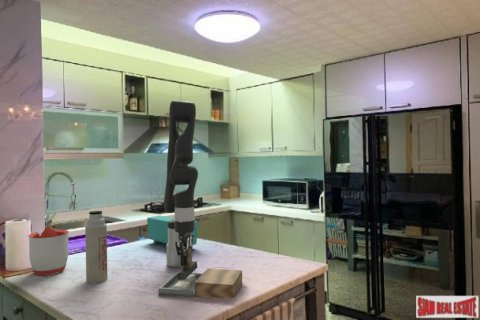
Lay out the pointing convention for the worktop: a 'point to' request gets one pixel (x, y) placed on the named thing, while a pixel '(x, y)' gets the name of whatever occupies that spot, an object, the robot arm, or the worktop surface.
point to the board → (218, 283)
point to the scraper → (187, 266)
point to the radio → (163, 229)
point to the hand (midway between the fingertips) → (185, 263)
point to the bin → (169, 290)
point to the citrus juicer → (48, 251)
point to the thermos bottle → (96, 248)
